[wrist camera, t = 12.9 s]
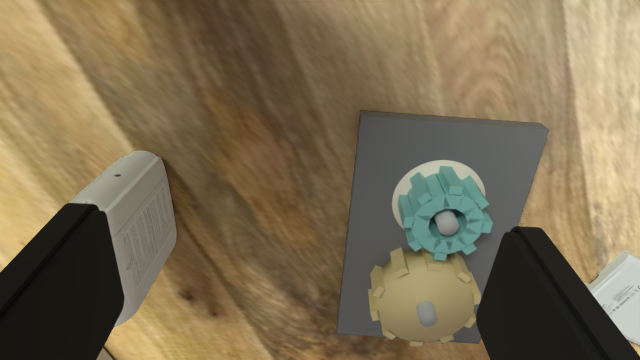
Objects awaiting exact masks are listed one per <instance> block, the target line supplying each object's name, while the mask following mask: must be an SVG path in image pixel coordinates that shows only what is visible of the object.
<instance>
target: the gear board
mask: <svg viewBox="0 0 640 360" xmlns="http://www.w3.org/2000/svg"><path fill="white" fill-rule="evenodd" d="M548 132H549V129H548V128H546V127H545V126H544V125H543V124H541V123H529V122H515V121H502V120H488V119H474V118H460V117H446V116H432V115H418V114H404V113H390V112H376V111H362V110H360V119H359V128H358V137H357V146H356V155H355V164H354V173H353V182H352V191H351V200H350V209H349V218H348V227H347V236H346V245H345V254H344V263H343V272H342V281H341V290H340V299H339V308H338V317H337V334H351V335H365V336H379V337H388V338H389V339H391V340H392V339H394V338H401V339H404V340H408V341H409V344H410V346H418V347H422V346H423V342H431V341H441V342H442V344H443V343H446V342H462V343H475V344H479V342H480V339H481V335H480V333H479V330H478V327H477V323H476V313H477V310H478V307H479V304H480V301H481V298H482V295H483V292H484V289H485V286H486V283H487V280H488V277H489V275H490V272H491V269H492V266H493V263H494V260H495V257H496V254H497V251H498V248H499V245H500V242H501V239H502V237H503V235H504V233H505V232H510V231H511V229H512V228H513V227H515V226H518V223H519V220H520V217H521V214H522V211H523V208H524V205H525V202H526V199H527V196H528V193H529V190H530V187H531V184H532V181H533V178H534V175H535V171H536V168H537V165H538V162H539V159H540V156H541V153H542V150H543V147H544V144H545V141H546V138H547V135H548ZM440 166H452V167H453V169H454V171H455V173H456V175H457V176H458V178H460V179H461V180H463V179H464V178H466V177H467V176H469V175H470V176H471V177H472V179H473V180H474V181H475V182H476V184H477V185H478V187H479V188H480V190H481V192H482V193H483V195H484V196H485V198H486V200H487V201H488V203H489V205H488V206H486V207H485V210H486V212H487V213H488V215H489V217H490V218H491V220H492V222H493V225H492V228H491V232H490V233H481V235H480V236H479V237H478V238H477V239H476V240H475V241H474V244H475V246H476V248H477V249H476V250H475V251H473V252H471V253H470V254H468V255H466V254H465V253H464V252H463V251H462V250H460V251H457V252H454V253H450V254H447V256H446V260H434V259H433V256H432V253H431V252H430V251H428V250H427V249H425V248H423V247H422V248H421V249H419V250H418V251H416V252H415V251H414V250H413V249H412V248H411V247H410V246H409V244H408V241H407V237H406V233H405V229H404V227H403V225H402V221H401V217H400V213H399V209H398V205H397V204H398V198H399V195H407V193H408V191H409V190H410V189H411V188H412V184H411V181H410V178H411V177H412V176H414V175H415V174H417V173H418V172H420V173H421V174H422V175H423V176H424V177H427V176H429V175H432V174H434V173H435V174H436V173H439V168H440ZM433 217H434V219H435V221H436V224H437V227H438V229H439V231H440V233H442V234H443V235H452V234H454V233H456V232H457V230H458V228H459V223H458V221H457V219H456V217H455V215H454V213H453V210H452V209H444V210H441V211H439V212H436V213H435V214H434V216H433Z"/></svg>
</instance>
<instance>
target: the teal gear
mask: <svg viewBox="0 0 640 360" xmlns="http://www.w3.org/2000/svg"><path fill="white" fill-rule="evenodd" d="M410 181H411V184H412V188H411V189H410V190H409V191H408V193H407V195H399V198H398V204H397V205H398V209H399V213H400V217H401V221H402V225H403V227H404V229H405V233H406V237H407V241H408V244H409V246H410V247H411V248H412V249H413V250H414V251H415V252H416V251H418V250H419V249H421V248H422V247H423V248H425V249H427V250H428V251H430V252H431V253H432V256H433V259H434V260H446V256H447V254H450V253H454V252H457V251H460V250H462V251H463V252H464V253H465V254H466V255H468V254H470V253H471V252H473V251H475V250H476V249H477V248H476V246H475V244H474V241H475V240H476V239H477V238H478V237H479V236H480V235H481V233H490V232H491V228H492V225H493V222H492V220H491V218H490V217H489V215H488V213H487V212H486V210H485V207H486V206H488V205H489V203H488V201H487V200H486V198H485V196H484V195H483V193H482V192H481V190H480V188H479V187H478V185H477V184H476V182H475V181H474V180H473V179H472V177H471V176H470V175H469V176H467V177H466V178H464V179H463V180H461V179H460V178H458V176H457V175H456V173H455V171H454V169H453V167H452V166H440V168H439V173H436V174H435V173H434V174H432V175H429V176H427V177H424V176H423V175H422V174H421V173H420V172H418V173H417V174H415V175H414V176H412V177H411V178H410ZM444 209H452V210H453V213H454V215H455V217H456V219H457V221H458V223H459V228H458V230H457V232H456V233H454V234H452V235H443V234H442V233H440V231H439V229H438V227H437V224H436V221H435V219H434V217H433V216H434V214H435V213H436V212H439V211H441V210H444Z"/></svg>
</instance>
